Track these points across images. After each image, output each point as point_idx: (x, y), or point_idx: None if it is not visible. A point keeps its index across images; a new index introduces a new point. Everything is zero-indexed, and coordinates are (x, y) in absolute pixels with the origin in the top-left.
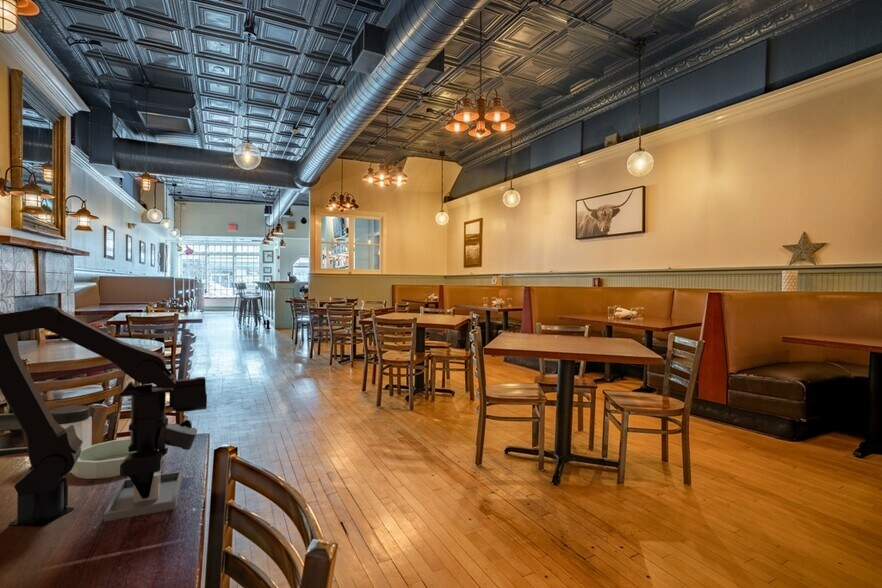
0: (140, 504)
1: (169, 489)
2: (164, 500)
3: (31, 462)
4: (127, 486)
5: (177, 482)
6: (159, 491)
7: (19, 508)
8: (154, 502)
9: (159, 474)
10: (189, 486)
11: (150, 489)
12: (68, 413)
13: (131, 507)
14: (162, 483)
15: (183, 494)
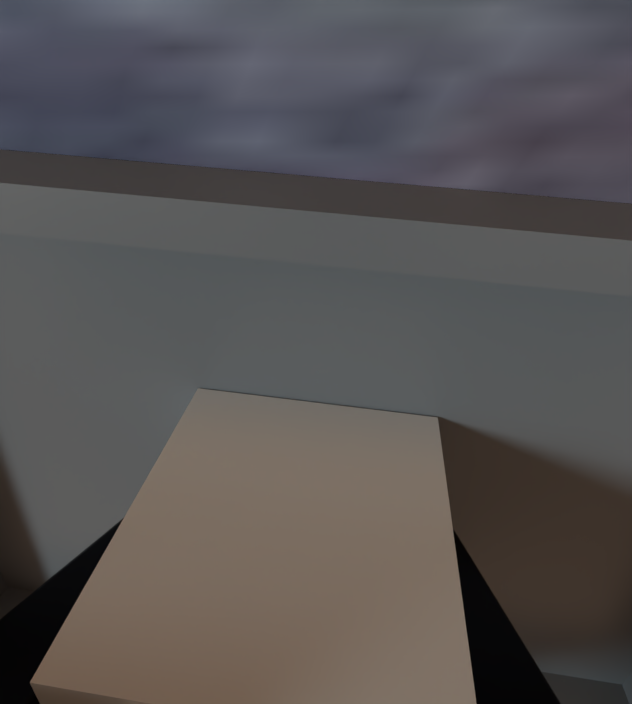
0: (480, 535)
1: (202, 302)
2: (547, 361)
3: None
4: (10, 576)
5: (181, 239)
6: (287, 416)
7: None
8: (520, 444)
9: (258, 653)
10: (111, 18)
11: (491, 602)
12: None
13: (499, 583)
14: None
15: (403, 116)
